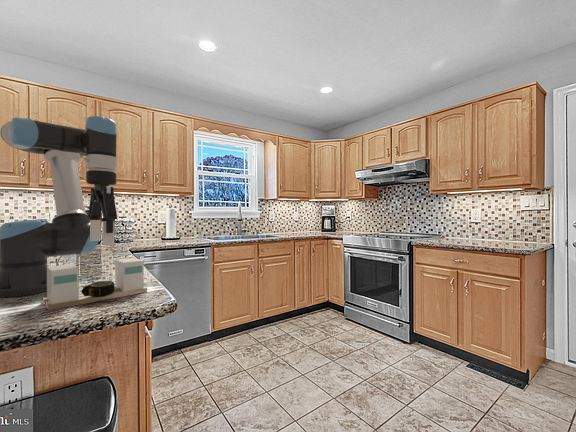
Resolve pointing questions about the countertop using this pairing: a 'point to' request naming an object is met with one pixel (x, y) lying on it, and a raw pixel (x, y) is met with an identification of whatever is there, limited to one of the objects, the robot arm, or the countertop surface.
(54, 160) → the robot arm
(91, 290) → the tape measure
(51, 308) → the rail board
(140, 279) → the mounted modules
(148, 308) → the countertop surface
